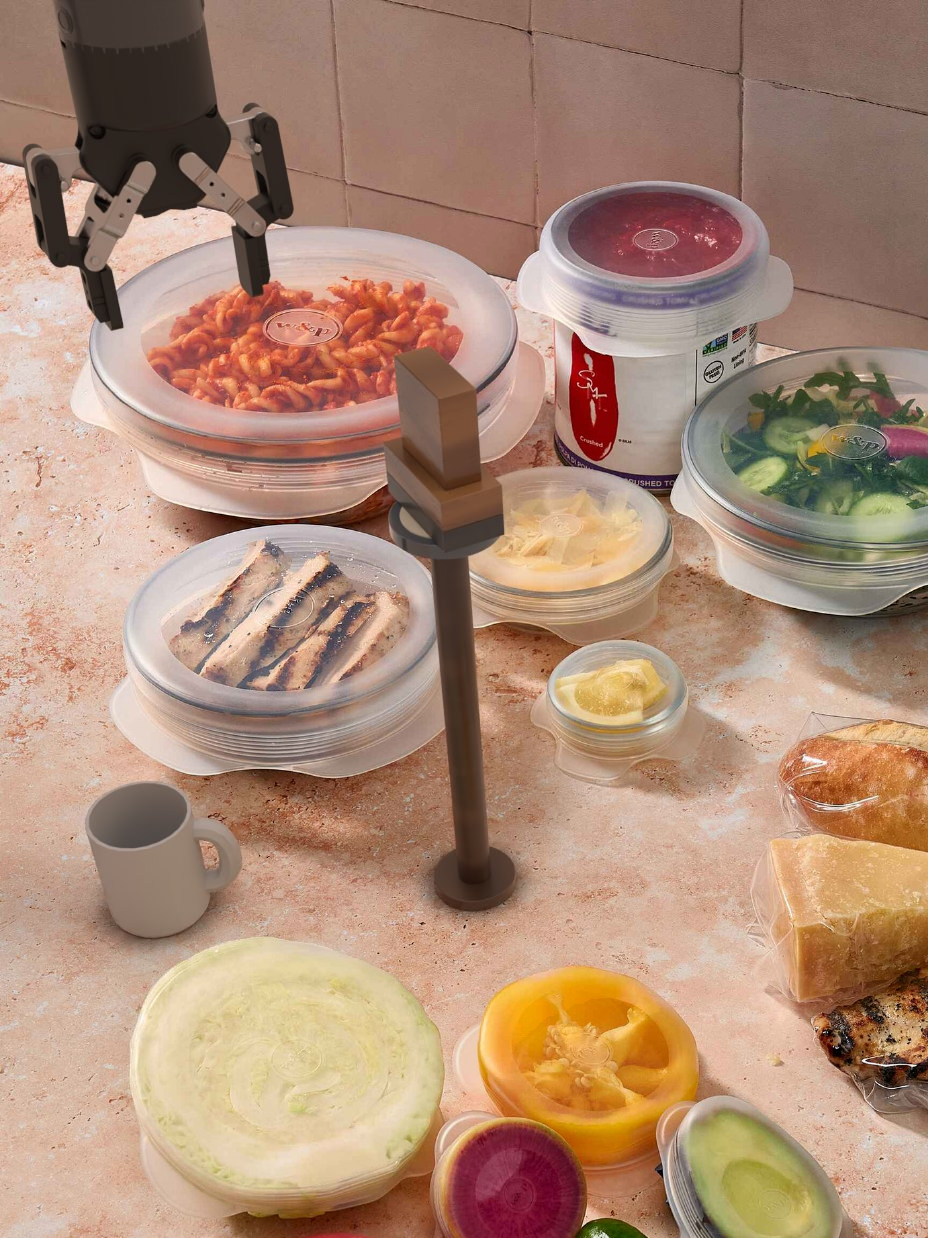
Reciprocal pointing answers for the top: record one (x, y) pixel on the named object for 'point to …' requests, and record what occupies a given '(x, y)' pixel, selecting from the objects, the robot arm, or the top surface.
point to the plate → (424, 538)
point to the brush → (441, 454)
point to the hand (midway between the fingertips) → (183, 307)
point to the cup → (157, 857)
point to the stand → (464, 751)
